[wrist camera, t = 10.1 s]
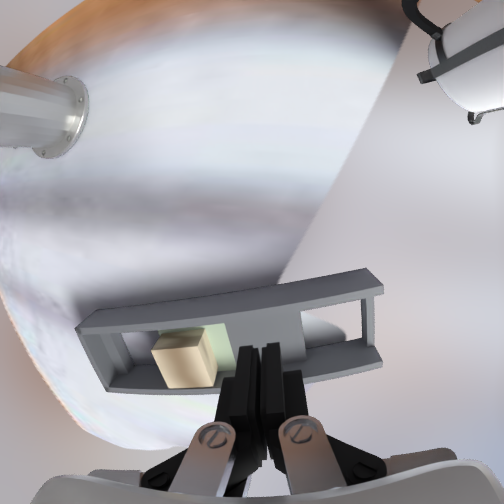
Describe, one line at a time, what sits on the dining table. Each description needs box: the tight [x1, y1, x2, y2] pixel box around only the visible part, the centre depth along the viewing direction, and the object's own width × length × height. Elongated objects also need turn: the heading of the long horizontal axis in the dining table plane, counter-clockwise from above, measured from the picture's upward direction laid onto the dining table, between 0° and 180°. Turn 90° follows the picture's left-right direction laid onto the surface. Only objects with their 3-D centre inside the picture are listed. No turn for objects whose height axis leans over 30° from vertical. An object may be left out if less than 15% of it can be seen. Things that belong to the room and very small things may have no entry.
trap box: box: [75, 268, 384, 395], centre depth 33 cm, size 38×11×6 cm, turn 101°
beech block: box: [151, 329, 218, 388], centre depth 32 cm, size 6×6×4 cm
